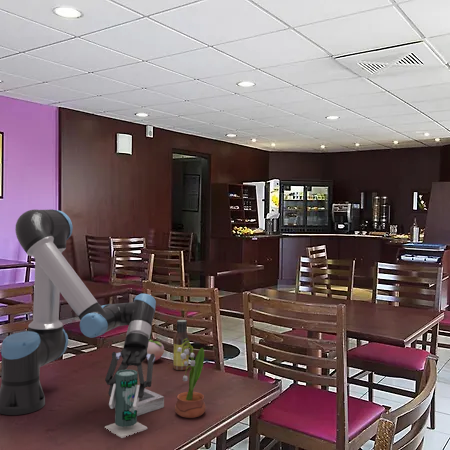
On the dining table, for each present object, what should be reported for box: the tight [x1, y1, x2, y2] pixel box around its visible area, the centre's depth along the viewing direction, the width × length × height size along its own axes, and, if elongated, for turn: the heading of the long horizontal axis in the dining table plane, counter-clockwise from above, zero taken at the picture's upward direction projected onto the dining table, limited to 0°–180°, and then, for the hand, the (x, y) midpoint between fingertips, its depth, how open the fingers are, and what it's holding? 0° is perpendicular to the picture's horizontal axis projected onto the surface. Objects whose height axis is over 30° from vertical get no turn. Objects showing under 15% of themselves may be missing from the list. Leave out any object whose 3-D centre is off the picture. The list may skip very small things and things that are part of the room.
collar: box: [113, 388, 165, 417], centre depth 170 cm, size 12×12×4 cm
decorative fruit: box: [147, 338, 165, 362], centre depth 219 cm, size 9×8×10 cm
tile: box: [104, 421, 148, 439], centre depth 153 cm, size 9×9×1 cm
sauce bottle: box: [172, 319, 190, 371], centre depth 210 cm, size 7×6×20 cm
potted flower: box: [174, 337, 207, 419], centre depth 164 cm, size 12×10×25 cm
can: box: [114, 368, 139, 427], centre depth 152 cm, size 6×6×15 cm
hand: (123, 407), depth 149 cm, fingers closed on can, 6 cm apart
